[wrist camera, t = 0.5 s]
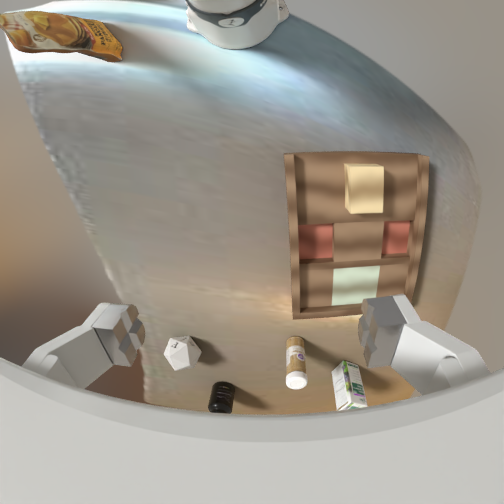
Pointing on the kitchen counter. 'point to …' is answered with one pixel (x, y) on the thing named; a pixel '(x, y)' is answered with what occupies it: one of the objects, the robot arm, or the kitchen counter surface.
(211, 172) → the kitchen counter surface
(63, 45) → the pancake mix bag
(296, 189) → the box
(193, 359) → the die
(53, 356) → the robot arm
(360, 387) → the syrup box
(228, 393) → the supplement bottle
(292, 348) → the sprinkles bottle
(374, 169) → the maple block
